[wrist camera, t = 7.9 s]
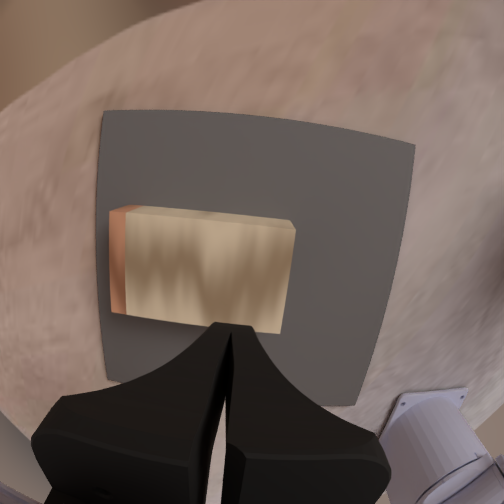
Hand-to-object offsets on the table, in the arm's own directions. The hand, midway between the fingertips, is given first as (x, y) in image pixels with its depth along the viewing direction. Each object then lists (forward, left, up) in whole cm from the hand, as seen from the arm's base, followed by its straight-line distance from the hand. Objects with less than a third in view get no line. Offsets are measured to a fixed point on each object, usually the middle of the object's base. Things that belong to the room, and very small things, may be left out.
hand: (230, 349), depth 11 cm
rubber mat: (-1, 0, -10) cm, 10 cm away
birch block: (0, -3, -8) cm, 9 cm away
